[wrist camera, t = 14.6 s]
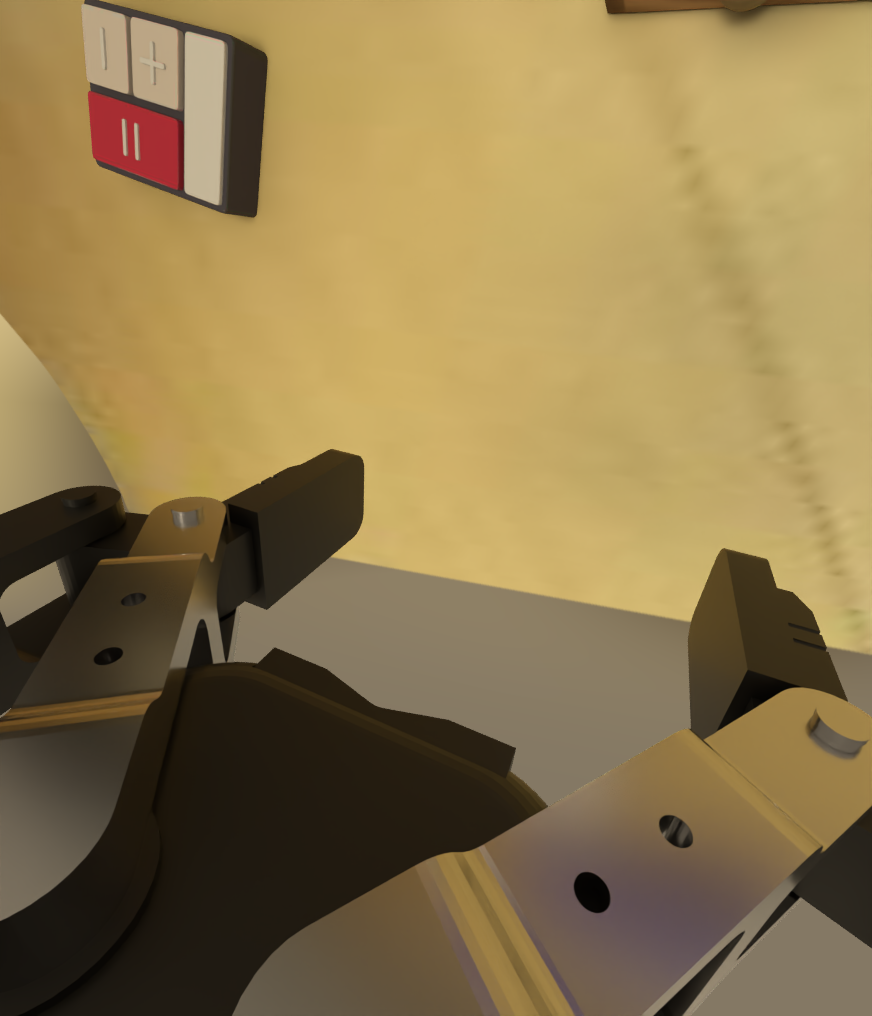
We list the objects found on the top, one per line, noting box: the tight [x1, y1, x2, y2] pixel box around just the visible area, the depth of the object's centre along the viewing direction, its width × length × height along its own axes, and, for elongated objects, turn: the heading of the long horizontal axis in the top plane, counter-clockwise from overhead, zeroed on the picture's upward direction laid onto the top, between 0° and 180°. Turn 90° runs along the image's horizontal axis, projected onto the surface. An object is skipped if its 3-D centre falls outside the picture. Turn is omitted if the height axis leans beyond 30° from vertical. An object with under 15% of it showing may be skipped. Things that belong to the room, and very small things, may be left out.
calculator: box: [82, 0, 268, 217], centre depth 40 cm, size 11×4×15 cm
